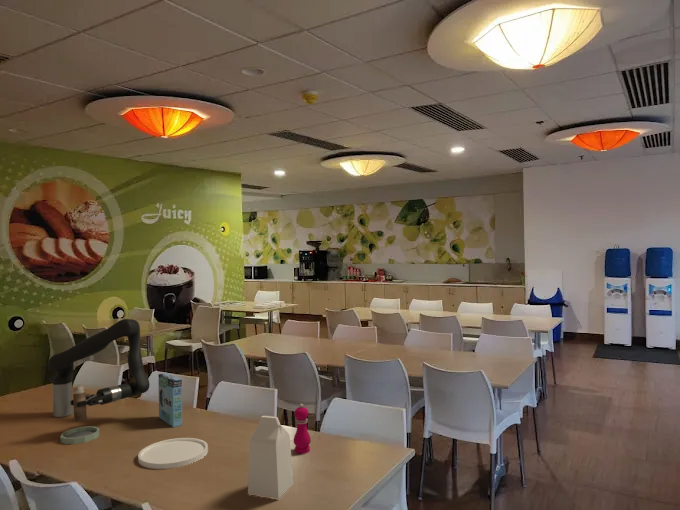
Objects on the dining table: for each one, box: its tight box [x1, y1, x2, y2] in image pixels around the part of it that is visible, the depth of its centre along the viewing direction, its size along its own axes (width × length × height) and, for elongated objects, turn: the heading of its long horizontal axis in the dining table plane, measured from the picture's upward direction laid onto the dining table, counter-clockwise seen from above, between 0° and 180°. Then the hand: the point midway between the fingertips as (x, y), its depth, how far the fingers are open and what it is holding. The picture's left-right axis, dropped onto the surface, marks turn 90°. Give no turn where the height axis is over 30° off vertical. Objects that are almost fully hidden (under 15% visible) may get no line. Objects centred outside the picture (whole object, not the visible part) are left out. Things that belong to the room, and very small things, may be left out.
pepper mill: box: [293, 403, 312, 455], centre depth 215 cm, size 7×7×20 cm
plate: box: [137, 437, 209, 470], centre depth 214 cm, size 28×28×2 cm
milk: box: [247, 415, 294, 500], centre depth 180 cm, size 12×12×26 cm
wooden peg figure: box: [72, 384, 87, 422], centre depth 238 cm, size 5×5×16 cm
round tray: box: [59, 425, 100, 445], centre depth 238 cm, size 16×16×2 cm
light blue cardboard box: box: [157, 372, 183, 428], centre depth 257 cm, size 20×5×23 cm, turn 39°
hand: (74, 404), depth 236 cm, fingers closed on wooden peg figure, 5 cm apart
